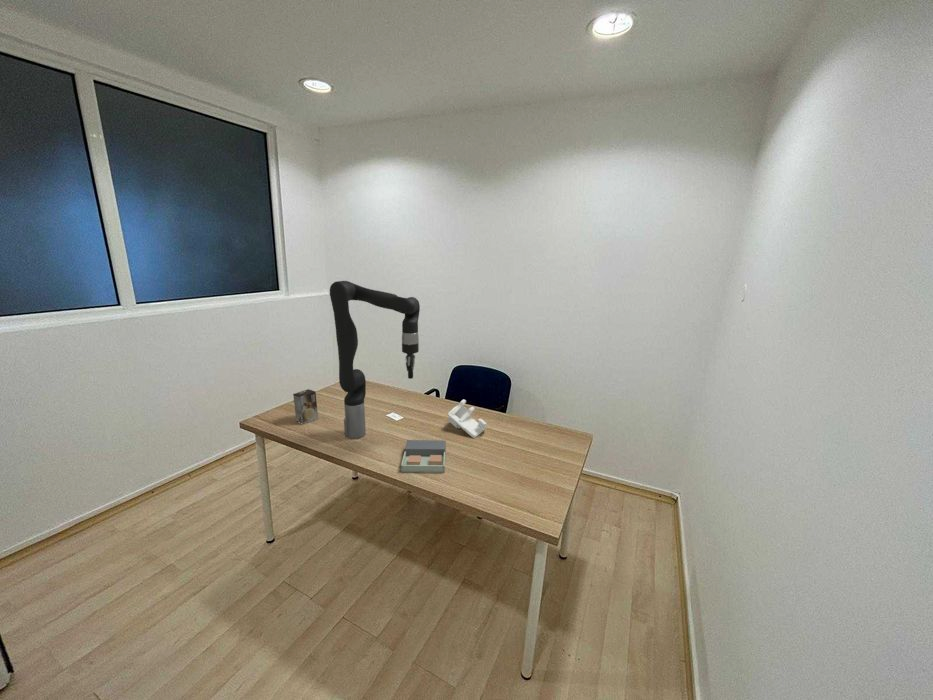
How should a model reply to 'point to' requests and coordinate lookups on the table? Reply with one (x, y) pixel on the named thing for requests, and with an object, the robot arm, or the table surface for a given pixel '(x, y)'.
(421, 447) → the grey flat block
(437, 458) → the tile right
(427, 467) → the tray
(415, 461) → the tile left
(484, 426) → the tape dispenser
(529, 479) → the table surface
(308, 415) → the coffee box
